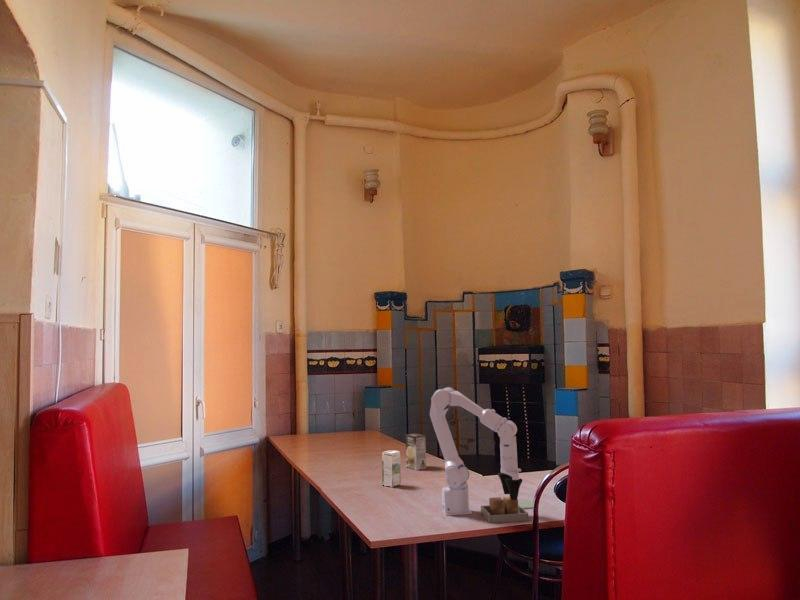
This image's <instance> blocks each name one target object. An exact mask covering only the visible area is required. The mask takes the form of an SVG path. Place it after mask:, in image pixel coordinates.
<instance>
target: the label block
mask: <svg viewBox="0 0 800 600" xmlns="http://www.w3.org/2000/svg"><path fill="white" fill-rule="evenodd" d="M502 499H503V500H504V514H519V513H518V501H519V499H518V498H517V500H511V499H510V496H503V498H502Z"/></svg>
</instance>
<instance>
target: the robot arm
mask: <svg viewBox="0 0 800 600" xmlns="http://www.w3.org/2000/svg"><path fill="white" fill-rule="evenodd" d="M430 400H431V403H430V407H429V408H430V409H429V418H430V421H431V423H432V426H433V430H434V432H435V435H436V438H437V442H438V444H439V447H440V450H441V453H442V457H443V459H444V463H445V465H444V471H445V482H446V484H447V486H446V487H445V486H444V487H442V488H441V510H442V512H443V514H444V515H445V516H460V515H472V514H473V512H472V511H471V510H470V504H469V503H470V502H469V501H470V500H469V498H470V497H469V484H468V482H467V481H468V480H469V479H470V470H469V469H468V467H466V466H465V464H464V461H463V460H462V459H461V458H460V456H459V452H458V450H457V447H456V444H455V442H454V439H453V436H452V432H451V429H450V426H449V424H448V421H447V418H446V415H447V412H448V410H449V408H450V407H461V408H463V409H465V410H466V411H468V412H469V413H471V414H472V415H475V416H476V417H478V419H479V422H480V423H481V424H482V425H484V426H485V427H487V428H489V429H490V430H491V431H493V432H495V433H497V435H498V437H499V450H500V452H499V453H500V472H498V473H497V476H498V477H499V479H500V482H501V486H502V489H503V493H504V495H509V497H510V499H511V500H517V499H518V497H519V492H520V487H521V485H522V483H523V479H522V478H519V473H520V472H522V469H521V468H518V451H517V450H518V448H517V447H518V446H517V436H516V434H517V432H518V427H517V425H516V423H515V422H513V420H509V419H508V418H507V417H506V416H505V417H503V416H501V415H500V414H498V413H497V412H496V410H495V409H494V408H492V409H491V408H486V409H484V408H483V407H481V406H480V405H478V404H477V403H475V401H474V400H473V401H472V400H471V399H469V397H467V396H466V395H464V394H463V393H461V392H460V391H458V390H455V389H454V388H453V387H449V386H448V387H445V388H439V389H437V390H435V391H434V393H433V395H432V396H431V398H430Z"/></svg>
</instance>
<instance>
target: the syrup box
mask: <svg viewBox="0 0 800 600" xmlns="http://www.w3.org/2000/svg"><path fill="white" fill-rule="evenodd" d="M381 471H382V473H381V474H382V478H381V480H382V481H381V482H382V484H381V485H382V486H383V485H384V486H383V487H386V486H390V487H389V488H395V487H398V486H401V485H402V484H401V478H402V477H401V451H400V450H395V449H393V450H390V449H389V450H386V451H382V453H381ZM400 484H401V485H400ZM397 485H398V486H397ZM394 486H395V487H394Z"/></svg>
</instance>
